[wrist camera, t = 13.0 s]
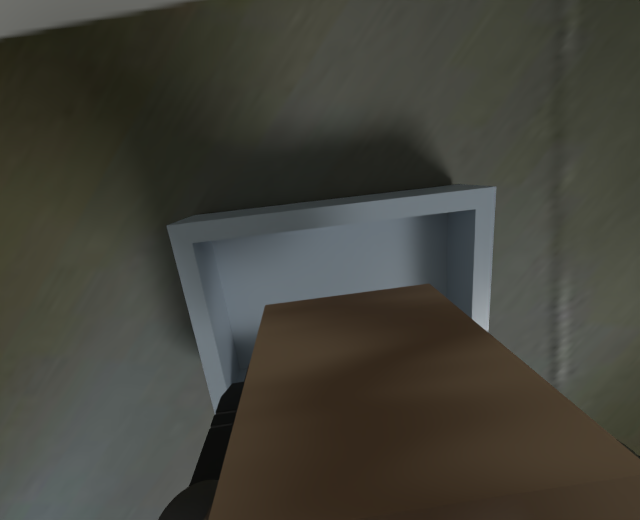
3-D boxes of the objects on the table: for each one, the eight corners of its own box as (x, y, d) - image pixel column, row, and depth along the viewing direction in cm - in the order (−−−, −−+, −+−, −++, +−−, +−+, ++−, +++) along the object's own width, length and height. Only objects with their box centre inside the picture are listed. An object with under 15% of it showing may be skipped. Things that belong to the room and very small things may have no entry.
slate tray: (458, 184, 15) (496, 186, 12) (455, 347, 17) (485, 381, 14) (193, 215, 14) (166, 225, 11) (230, 376, 17) (215, 417, 14)
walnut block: (429, 283, 9) (654, 471, 3) (430, 416, 10) (591, 712, 5) (265, 305, 9) (201, 542, 3) (288, 437, 10) (276, 768, 5)
